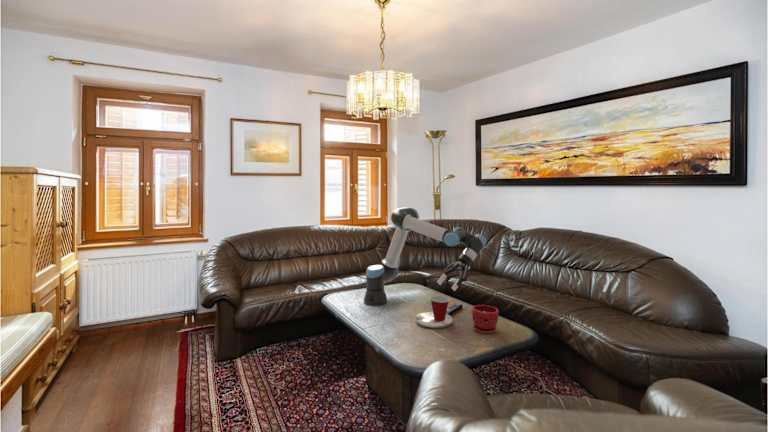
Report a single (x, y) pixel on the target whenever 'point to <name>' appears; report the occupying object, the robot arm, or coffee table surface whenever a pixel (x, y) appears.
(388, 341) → the coffee table surface
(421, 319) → the disc
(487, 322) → the plant pot
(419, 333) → the coffee table surface
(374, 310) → the coffee table surface
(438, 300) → the plastic cup
